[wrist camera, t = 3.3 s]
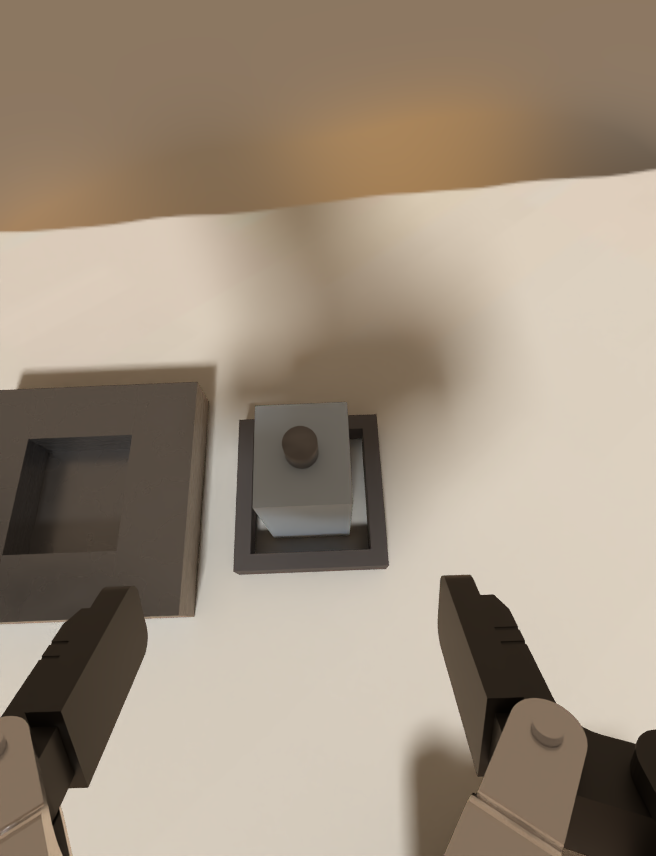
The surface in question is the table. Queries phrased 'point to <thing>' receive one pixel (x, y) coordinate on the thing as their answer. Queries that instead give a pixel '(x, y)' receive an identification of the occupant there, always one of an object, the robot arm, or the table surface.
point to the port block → (100, 497)
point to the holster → (314, 560)
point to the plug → (303, 469)
